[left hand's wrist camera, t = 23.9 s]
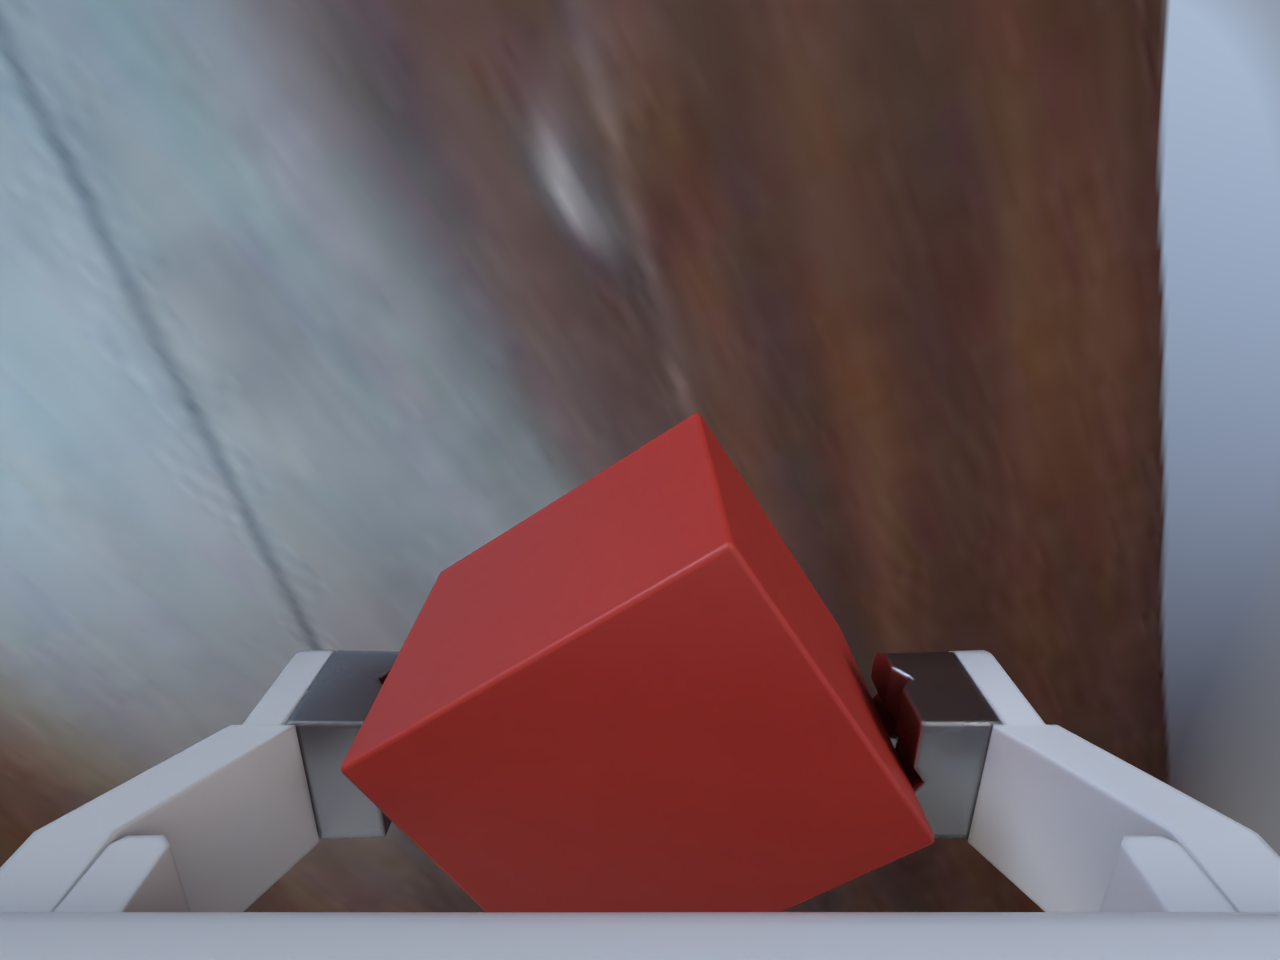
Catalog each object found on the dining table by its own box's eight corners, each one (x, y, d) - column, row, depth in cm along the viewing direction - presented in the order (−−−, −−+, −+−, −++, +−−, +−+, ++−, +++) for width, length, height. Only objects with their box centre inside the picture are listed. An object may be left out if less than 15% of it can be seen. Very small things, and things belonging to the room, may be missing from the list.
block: (597, 757, 13) (579, 1006, 9) (438, 572, 12) (334, 770, 8) (840, 627, 12) (939, 844, 8) (698, 410, 11) (731, 541, 7)
